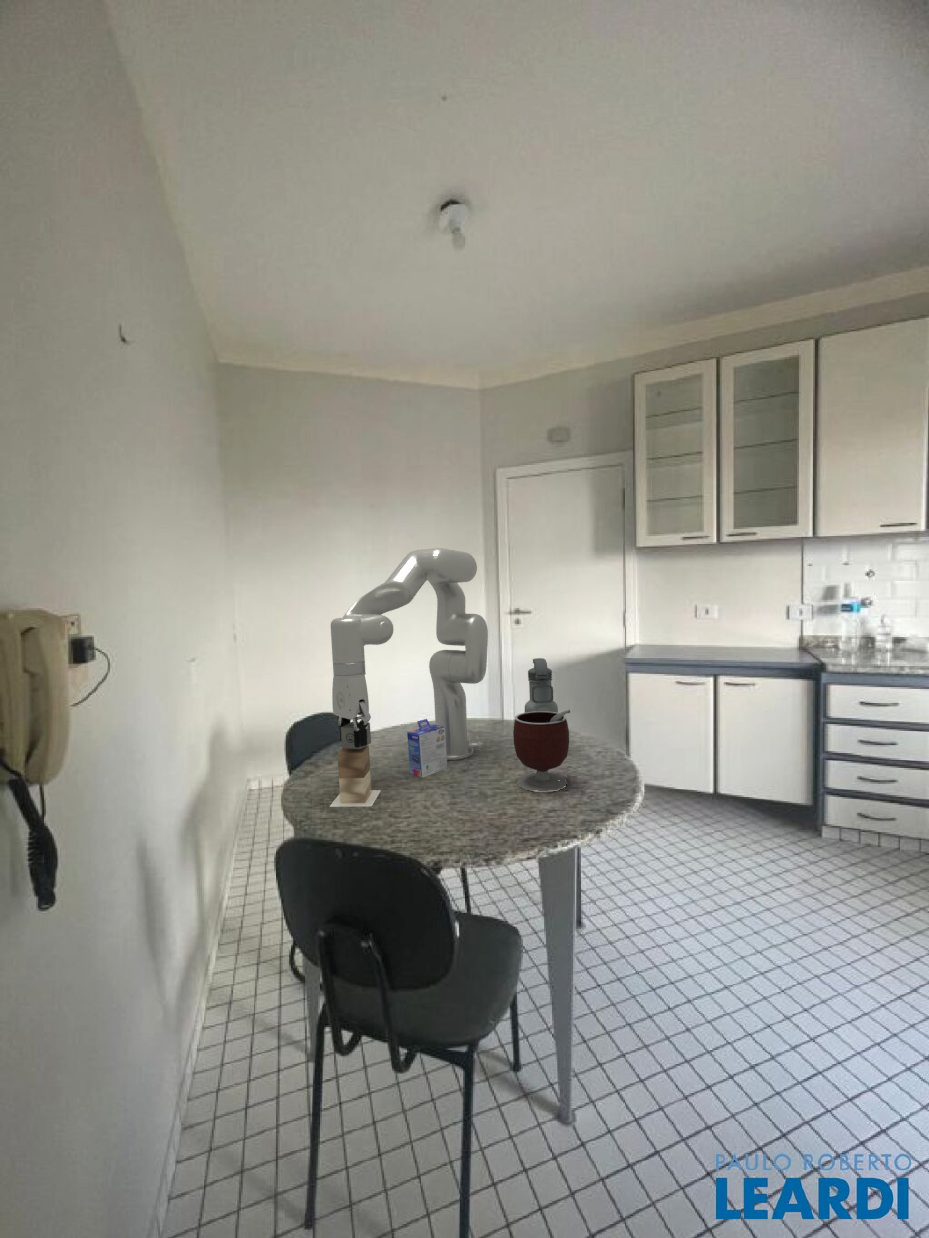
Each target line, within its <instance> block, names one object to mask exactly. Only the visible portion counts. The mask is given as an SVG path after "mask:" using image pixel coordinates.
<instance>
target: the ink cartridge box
mask: <svg viewBox="0 0 929 1238" xmlns="http://www.w3.org/2000/svg"><path fill="white" fill-rule="evenodd" d="M422 723H423V725H421V724H422ZM424 723H426V724H424ZM417 725H418V728H417V729H413V730H412V731H407V732H406V734H407V746H408V758H409V773H410V775H413V776H416V777H419V778H426V777H428V776H430V775H433V774H436V773H438V772H441V771H444V770H447V769H448V760H447V754H446V739H445V727H443V726H438V725H435V724H430V723H429V719H427V718H423V719H421V720H418V721H417Z"/></svg>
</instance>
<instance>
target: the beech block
mask: <svg viewBox="0 0 929 1238" xmlns="http://www.w3.org/2000/svg"><path fill="white" fill-rule="evenodd" d="M371 780H372V777H371V769H370V770H369V772H368V773H367V774H366V776H365V777H364V778H339V777H338V786H339V794H340V803H366V801H367V799H368V798H369V796H370V795H371V790H372V781H371Z"/></svg>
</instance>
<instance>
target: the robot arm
mask: <svg viewBox="0 0 929 1238" xmlns="http://www.w3.org/2000/svg"><path fill="white" fill-rule="evenodd" d="M477 570H478V565H477V561H476V559H475V557H474V556H473V555H472V554H471V553H469V552H465V551H460V550H454V549H449V548H443V547H435V548H425V549H424V548H423V549H422V548H421V549H415V550H412V551H410V552H409V553H407V554H406V556H405V557H404V558H403V559H402V561H400V563H399V564H398V565H397V566H396V568H395V569H394V571H393V572H392V573H391V574H390V576H389V577H388V578H387V579H386V580H385V581H384V582H383V583H381V584H380V585H378V586H376V587H375V588H373V589H372V590H370V591H368V592H366V593H365V594H364V595H362V596H361V597H359V598H358V599H356V601H355V602H354V603H353V604H352V605H351V606H350V607H349V608H348V610H347V611H346V612H345V613H344V615H343V616H342V617H338V618H337V617H336V618H334V619H332V620H331V621H330V637H331V638H330V639H331V641H330V642H331V655H332V656H331V657H332V672H333V675H332V676H333V678H332V689H331V690H332V696H331V697H332V698H331V700H332V704H331V705H332V713H333V714H334V715H335V716H336V717H337V719H338V721H337V722H338V723H337V724H338V727H339V738H340V739H339V740H340V742H341V743H342V739H341V727H342V726H344V725H347V724H349V723H351V721H352V722H353V723H354V727H355V731H353V732H354V747H356V748H358V747H361V746H365V745H367V728H368V726H367V725H368V723H370V720H371V718H372V716H371V713H370V710H369V709H370V704H369V694H368V692H369V691H368V686H367V685H368V684H367V680H366V676H365V675H366V659H365V657H366V656H365V646H367V645H370V646H372V645H373V646H379V645H382V644H385V643H387V642H389V641H390V640H391V638H392V636H393V633H394V624H393V622H392V620H391V619H390V618H388V617H387V616H385V615H383V614H386V613H388V612H392V611H394V610H398V609H400V608H403V607H405V606H406V605H408V604H410V603H412V601H413V599H415V596H416V595H417V593H418V592H419V591H420V589H422V587H423V586H424V584H425V583H426V582H427V581H428V583H429V584H430V585H431V586H432V589H433V590H434V592H435V595H436V600H437V601H436V602H437V603H436V604H437V606H436V609H437V610H436V625H435V627H436V628H435V630H436V631H435V633H436V640H437V641H438V642H439V643H440V644H442V645H446V646H455V647H456V646H460V647H463V646H464V650H460V649H442V650H439V651H435V653H434V652H433V654H432V655H431V657H430V658H429V661H428V662H429V663H428V664H429V665H428V667H429V673H430V677H431V681H432V688H433V698H434V699H433V700H434V702H433V703H434V722H435V724H434V725H438V726H443V727H445V739H446V754H447V761H457V760H463V759H466V758H467V759H468V758H469V757H472V756H473V754H474V749H477V750H478V749H480V750H481V749H482V750H483V747H484V744H483V741H480V740H471V739H470V735H468V717H467V714H468V713H467V696H466V692H465V689H464V687H463V686H462V684H470V685H471V684H472V685H473V684H474V685H475V684H479V683H480V682H482V681H483V680H484V678H485V677H486V672H487V667H488V664H487V663H488V641H489V629H488V624H487V622H486V620H485V618H484V617H483V616H482V615H480V614H477V613H466V595H465V592H464V590H463V589H462V587H461V586H460V585H459V583H468V582H470V581H472V580H473V579H474V578H475V576H476V574H477ZM358 720H360V721H358ZM358 722H359V724H358Z"/></svg>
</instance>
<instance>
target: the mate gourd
mask: <svg viewBox="0 0 929 1238" xmlns="http://www.w3.org/2000/svg"><path fill="white" fill-rule="evenodd" d="M567 714H571V710H570V709H567V710H563V711H561V712H558V713H557V712H549V711H534V712H526V713H525V712H522V713H518V714H516V715H515V717H514V723H513V733H512V735H513V737H512V739H513V746H514V750H515V751H514V752H515V754H516V757H517V758H518V760H519V762H520V763H522V765H523V766H525V767H527V768H528V769H532V770H535V771H536V772H535V773H528V774H526V775H523V776H521V777H519V779H518V781H517V782H518V784H519V785H520V786H521V787H522V788H524V789H527V790H538V791H548V790H558V789H561V788H563V787H564V786H566V784H567V785H568V780H567V778H566V777H564V776H561V775H559V774H555V773H549V771H550V770H554V769H555V768H557V767H560V766H561V765H562V764H564V763H563V762H564V761H565V760H566V758H567V757H568V753H569V748H570V729H569V725H568V721H567V716H566V715H567ZM558 780H560V781H558ZM565 780H567V781H565ZM519 785H518V786H519ZM522 788H521V789H522ZM524 789H523V790H524Z"/></svg>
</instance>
